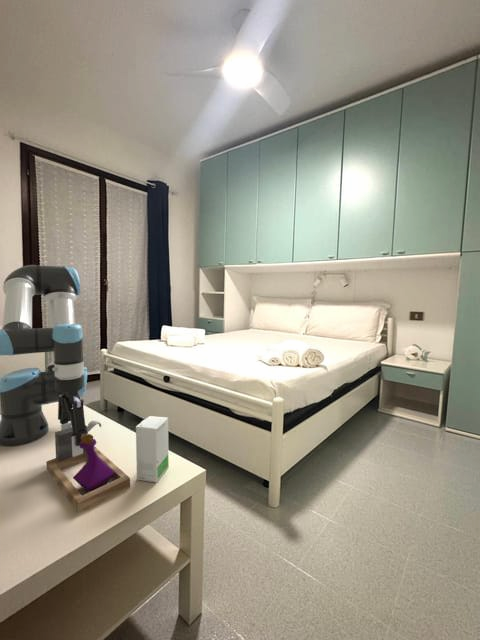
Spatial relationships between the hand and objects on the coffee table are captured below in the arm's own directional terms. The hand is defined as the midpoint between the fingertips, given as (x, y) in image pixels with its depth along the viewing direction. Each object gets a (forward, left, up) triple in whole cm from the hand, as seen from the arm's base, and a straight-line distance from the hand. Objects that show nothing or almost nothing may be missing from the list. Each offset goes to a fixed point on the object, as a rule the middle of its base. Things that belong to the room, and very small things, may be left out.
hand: (72, 448), depth 90 cm
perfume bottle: (+16, 0, -5) cm, 17 cm away
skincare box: (+22, +14, -5) cm, 26 cm away
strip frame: (+11, 0, -4) cm, 12 cm away
